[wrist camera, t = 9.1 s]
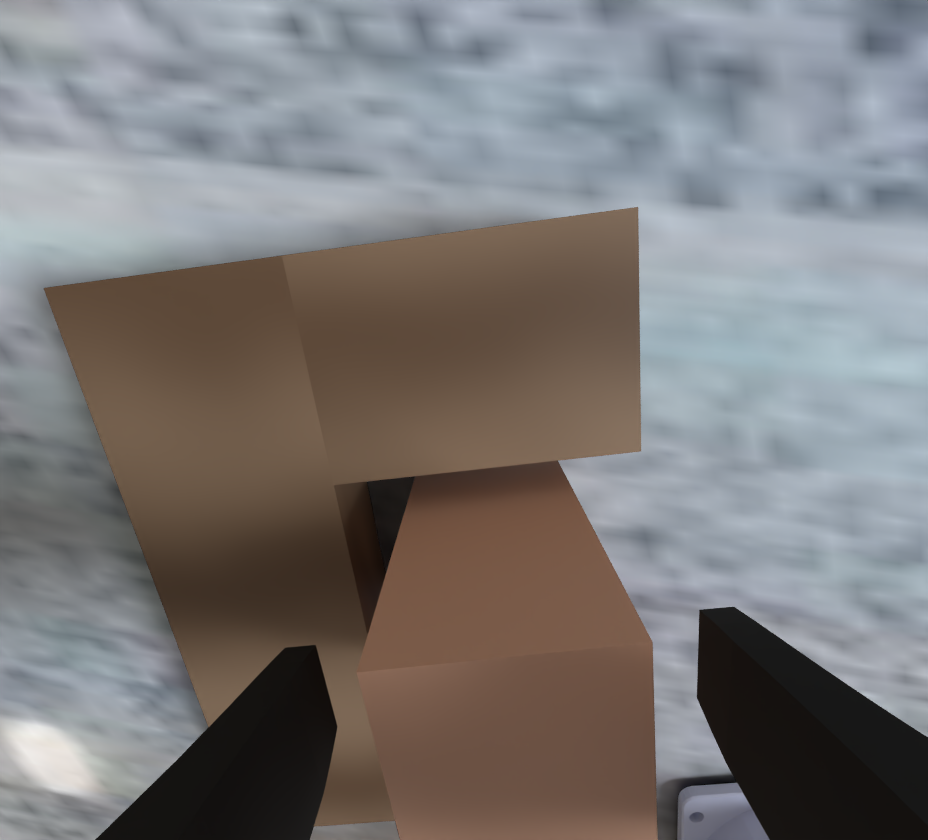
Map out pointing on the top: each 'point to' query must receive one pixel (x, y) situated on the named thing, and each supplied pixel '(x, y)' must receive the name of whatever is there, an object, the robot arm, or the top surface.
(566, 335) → the notched board
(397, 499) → the top surface
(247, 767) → the robot arm
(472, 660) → the terracotta block
